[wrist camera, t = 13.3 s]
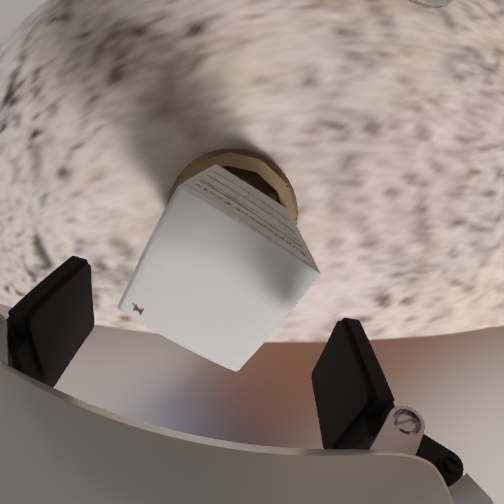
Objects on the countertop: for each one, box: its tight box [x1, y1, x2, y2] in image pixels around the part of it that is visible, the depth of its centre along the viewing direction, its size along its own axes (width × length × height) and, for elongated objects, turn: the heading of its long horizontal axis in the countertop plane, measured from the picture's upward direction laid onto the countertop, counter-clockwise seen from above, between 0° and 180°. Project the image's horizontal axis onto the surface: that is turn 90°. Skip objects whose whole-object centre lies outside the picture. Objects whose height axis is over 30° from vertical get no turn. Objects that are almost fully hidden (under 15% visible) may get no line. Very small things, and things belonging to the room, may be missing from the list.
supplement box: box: [118, 164, 320, 371], centre depth 19 cm, size 7×7×13 cm
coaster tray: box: [168, 149, 298, 224], centre depth 26 cm, size 12×12×4 cm
